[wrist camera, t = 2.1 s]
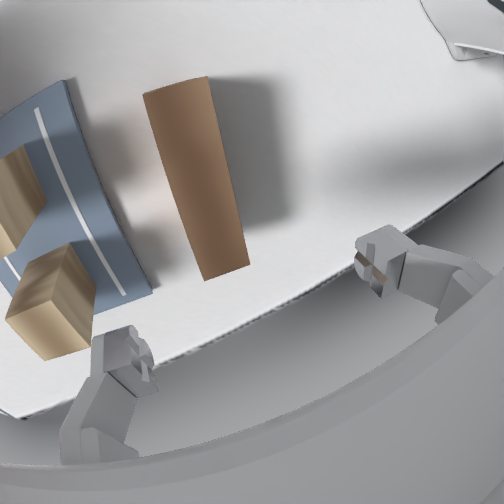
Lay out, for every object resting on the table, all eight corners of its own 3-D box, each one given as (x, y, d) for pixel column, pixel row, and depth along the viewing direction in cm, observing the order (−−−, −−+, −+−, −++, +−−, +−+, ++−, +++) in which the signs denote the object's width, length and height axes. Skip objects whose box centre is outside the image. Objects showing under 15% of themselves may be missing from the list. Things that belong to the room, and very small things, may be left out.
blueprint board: (65, 79, 14) (61, 79, 13) (152, 288, 26) (152, 294, 25) (-54, 167, 11) (-59, 170, 11) (43, 327, 24) (42, 333, 23)
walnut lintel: (191, 79, 17) (207, 76, 13) (228, 225, 25) (250, 264, 21) (144, 92, 17) (142, 94, 12) (190, 238, 25) (204, 281, 20)
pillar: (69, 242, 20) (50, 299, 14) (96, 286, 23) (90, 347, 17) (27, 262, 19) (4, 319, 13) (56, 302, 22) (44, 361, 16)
